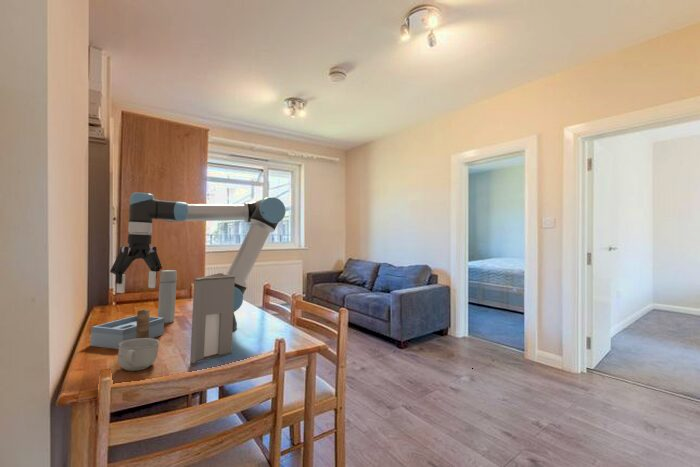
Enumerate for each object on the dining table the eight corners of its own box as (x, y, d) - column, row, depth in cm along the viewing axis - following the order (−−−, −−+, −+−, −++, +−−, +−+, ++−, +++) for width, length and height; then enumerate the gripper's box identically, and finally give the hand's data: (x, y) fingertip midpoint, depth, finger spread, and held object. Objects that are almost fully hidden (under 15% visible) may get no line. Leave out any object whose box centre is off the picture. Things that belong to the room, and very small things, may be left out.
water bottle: (169, 324, 153) (172, 271, 154) (153, 323, 153) (156, 271, 154) (180, 319, 162) (182, 270, 163) (164, 319, 162) (167, 269, 163)
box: (163, 334, 137) (164, 317, 137) (122, 349, 117) (123, 330, 118) (135, 331, 140) (136, 315, 140) (90, 345, 120) (91, 326, 120)
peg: (150, 347, 120) (152, 310, 121) (141, 351, 116) (144, 312, 117) (141, 346, 121) (143, 309, 121) (132, 350, 117) (134, 311, 118)
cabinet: (215, 344, 127) (219, 273, 127) (240, 345, 127) (243, 274, 127) (189, 364, 106) (194, 279, 107) (219, 365, 106) (223, 280, 107)
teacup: (130, 360, 107) (131, 336, 107) (164, 361, 108) (165, 337, 108) (101, 378, 93) (103, 350, 93) (140, 378, 94) (142, 351, 94)
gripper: (158, 234, 135) (155, 285, 134) (99, 232, 110) (96, 294, 110) (173, 235, 133) (170, 286, 132) (117, 232, 109) (114, 295, 108)
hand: (136, 290), depth 121 cm, fingers open, 13 cm apart
